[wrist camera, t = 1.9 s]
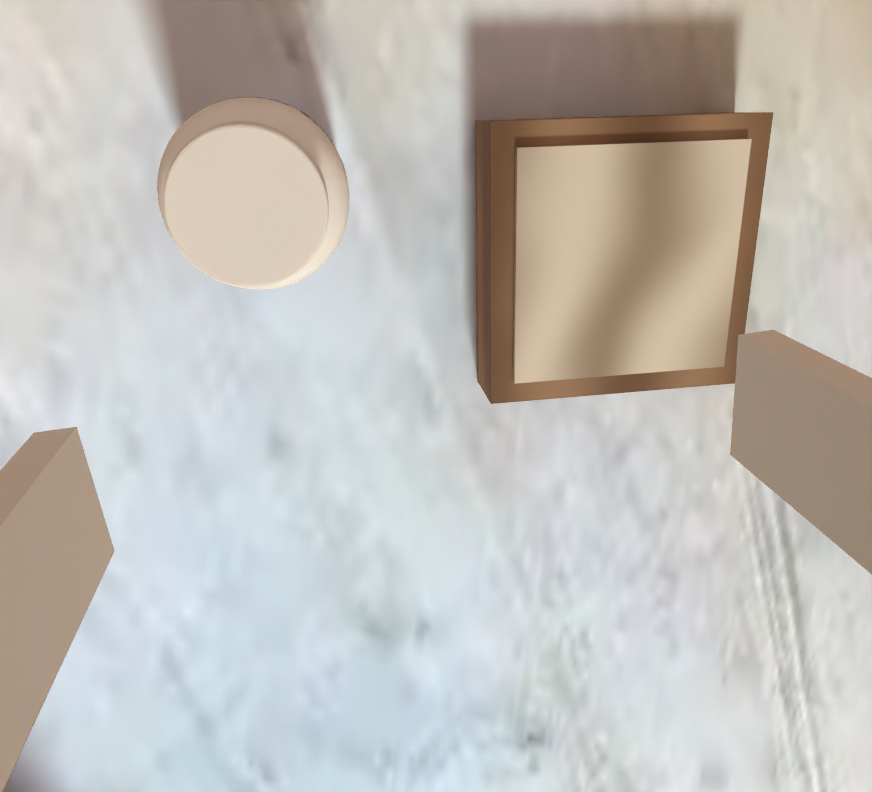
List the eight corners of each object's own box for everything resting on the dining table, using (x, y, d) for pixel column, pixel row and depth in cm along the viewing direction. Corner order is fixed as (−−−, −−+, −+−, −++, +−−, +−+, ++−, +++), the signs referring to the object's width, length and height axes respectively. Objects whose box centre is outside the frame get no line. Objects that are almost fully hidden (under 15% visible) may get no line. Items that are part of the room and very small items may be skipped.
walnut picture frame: (477, 381, 36) (492, 405, 33) (475, 120, 32) (492, 121, 29) (706, 363, 38) (741, 385, 35) (735, 112, 33) (777, 112, 30)
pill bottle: (172, 214, 31) (102, 264, 21) (222, 72, 30) (172, 50, 19) (309, 272, 33) (307, 344, 23) (364, 141, 31) (387, 154, 21)
